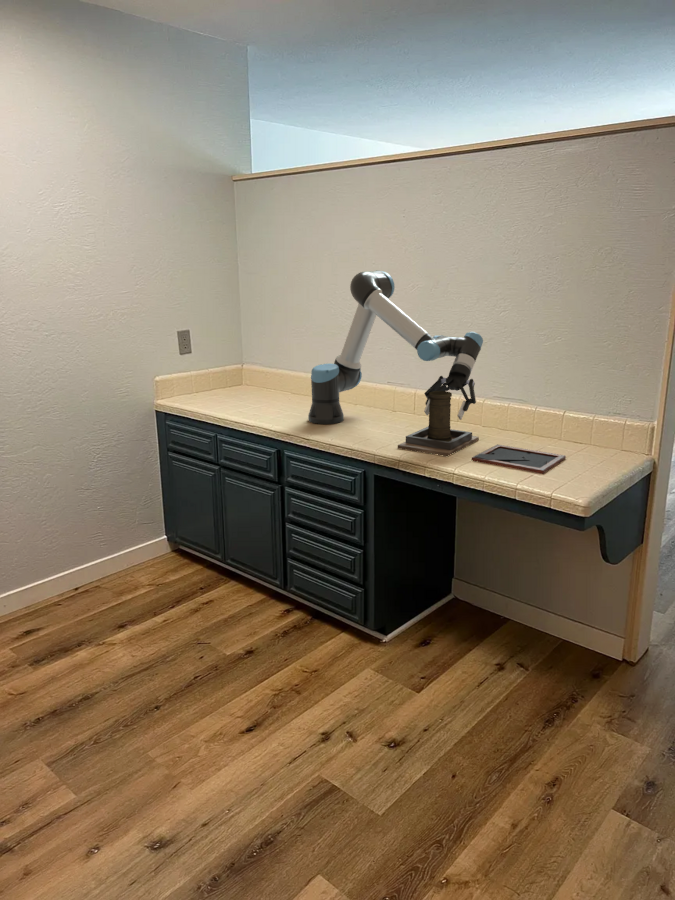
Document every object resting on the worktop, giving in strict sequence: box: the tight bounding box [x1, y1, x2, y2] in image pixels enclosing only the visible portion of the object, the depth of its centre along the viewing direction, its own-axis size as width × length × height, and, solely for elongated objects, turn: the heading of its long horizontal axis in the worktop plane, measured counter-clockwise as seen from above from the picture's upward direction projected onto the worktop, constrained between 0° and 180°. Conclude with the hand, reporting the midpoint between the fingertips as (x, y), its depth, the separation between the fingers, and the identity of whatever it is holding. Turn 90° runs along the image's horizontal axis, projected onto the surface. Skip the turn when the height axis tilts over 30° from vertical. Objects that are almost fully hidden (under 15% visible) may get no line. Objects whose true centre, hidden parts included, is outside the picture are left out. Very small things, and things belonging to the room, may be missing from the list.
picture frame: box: [471, 444, 567, 474], centre depth 229 cm, size 20×2×25 cm
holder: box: [397, 426, 480, 457], centre depth 249 cm, size 26×20×4 cm
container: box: [427, 391, 453, 442], centre depth 247 cm, size 9×9×18 cm
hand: (442, 415), depth 248 cm, fingers open, 13 cm apart
